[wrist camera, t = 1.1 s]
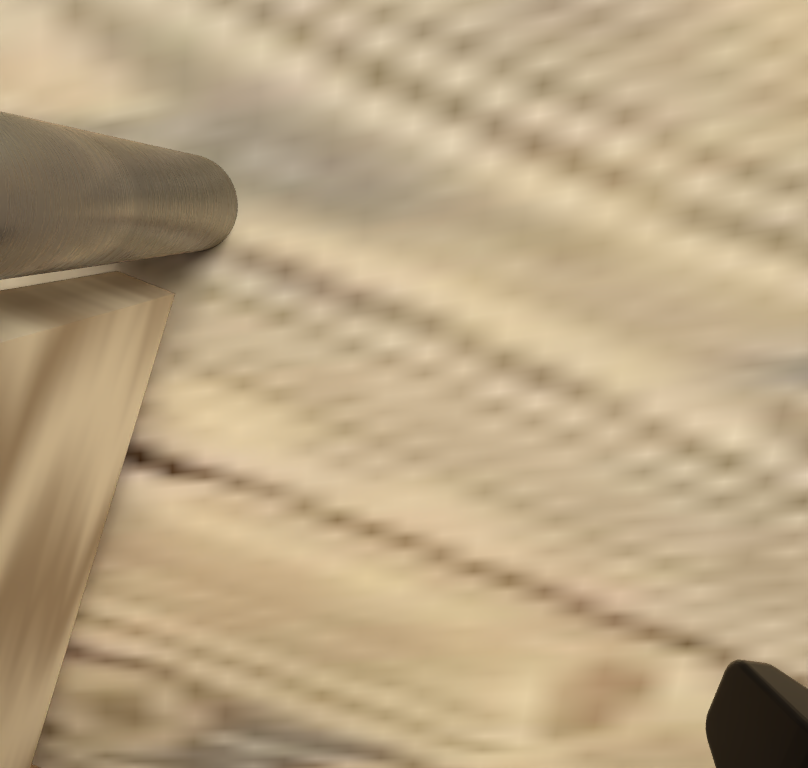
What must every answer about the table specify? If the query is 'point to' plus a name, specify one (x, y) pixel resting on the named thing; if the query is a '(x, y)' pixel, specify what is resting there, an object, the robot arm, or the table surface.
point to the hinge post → (102, 199)
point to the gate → (61, 467)
